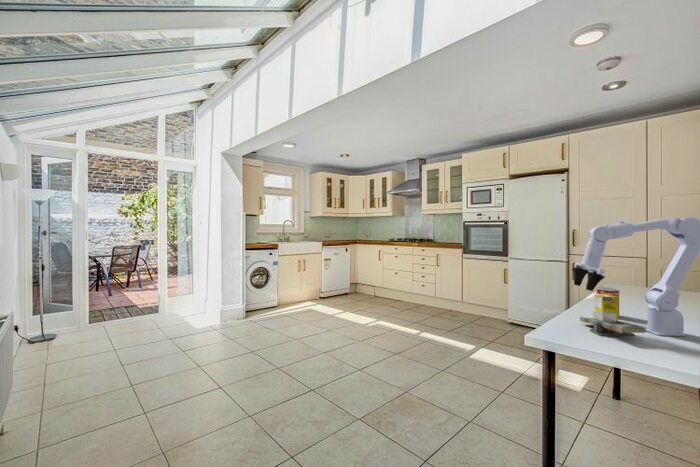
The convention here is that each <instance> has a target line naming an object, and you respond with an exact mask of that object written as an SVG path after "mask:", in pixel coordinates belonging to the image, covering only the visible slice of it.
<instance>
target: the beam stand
mask: <svg viewBox="0 0 700 467" xmlns="http://www.w3.org/2000/svg"><path fill="white" fill-rule="evenodd" d="M623 322H624V323H629V324H631V323H630V322H627V321H623ZM589 331H590V332H591V333H593V334H596V335H597V336H607V337H635V336H636V334H635V333H623V332H618V331H615V330H611V329H607V328H604V329H603V328H602V327H601V323H600V322H594V325H593V328H590V329H589Z"/></svg>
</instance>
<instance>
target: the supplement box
mask: <svg viewBox="0 0 700 467" xmlns="http://www.w3.org/2000/svg"><path fill="white" fill-rule="evenodd" d="M594 312H610V313H615V314H616V319H617V321H619V317H618V297H616V296H613V295H610V294H597V293H595V294H594Z"/></svg>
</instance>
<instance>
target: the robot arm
mask: <svg viewBox="0 0 700 467" xmlns="http://www.w3.org/2000/svg"><path fill="white" fill-rule="evenodd" d="M617 222H618V223H612V224H608V223H606V224H603V225H602V226H594V227H593V228H591V229H590V231H588V237H589V240H588V242H587V245H586V247H585V251H584V254H583V256H582V257H583V258H582V261H581V262H577V261H576V262H575V264H574V267H572V268H571V269H572V274H573V285H575V286H579V287H580V286H581V285H582V283H583V280H584V279H585V276H586V275H587V280H586V281H587V282H586V288H585V289H586V291H590V292H592V291H594V289H595V288H596V286H598V284H599V283H600V282H601V281H602V280H604V279H605V278H606V276H605V273H606V270H604V269H601V268H600V265H601V261H602V257H603V256H604V255H603V254H604V252H605V249H606V245H607V242H608V241H609V240H614V239H621V238H627V237H628V238H629V237H632V235H634V234H635V233H638V232H645V231H652V230H661V231H666V232H667V233H668V234H670V235H672V237H674V238H675V239H676V240H677V241H678V243H679V247H678V249H677V250H676V252H675V254H674V256H673V258H672V260H671V261H670V263H669V265H668V266H667V268H666V270H665V272H664V274H663V275H662V277H661V278H660V280H659V282H657V283H655V284H653V286H652V288H650V289H649V290H647V291H646V292H645V294H644V300H645V302H646V303H648V305H647V327H645V329H646V332H649V333H651V334H653V335H656V336H666V337H667V336H668V337H669V336H670V337H671V336H673V337H675V336H677V337H679V336H680V337H684V336H686V334H685V333H684V330H685V329H684V324H685V323H684V320H685V318H684V316H683V313H682V312H680V310H677V308H678V306H679V298H680V296H681V292H680V290H679V288H680V286H681V284H682V283H683V281H684V279H686V276H687V274H688V273H689V271H690V269H691V268H692V266H693V264H694V262H695V260H696V259H697V257H698V256H699V254H700V220H699V219H697V218H696V217H673V218H658V219H654V220H647V221H643V222H638V223H630V222H628V221H624V220H622V221H617Z"/></svg>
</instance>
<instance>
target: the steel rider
mask: <svg viewBox="0 0 700 467" xmlns="http://www.w3.org/2000/svg"><path fill="white" fill-rule="evenodd" d="M592 314H593V316H592V317H593V318H594V320H597V321H601V322H605V323H617V319H616V314H615V313H610V312H595V311H593V313H592Z"/></svg>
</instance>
